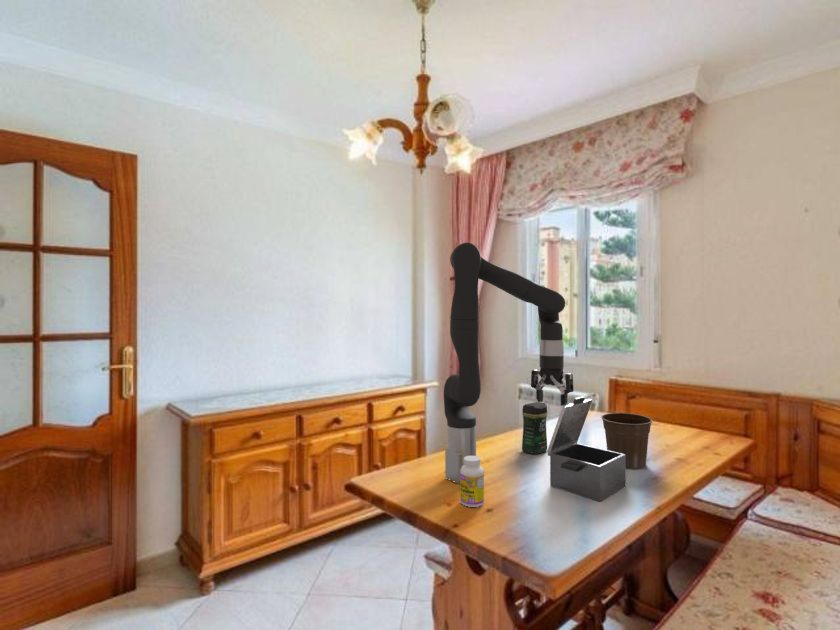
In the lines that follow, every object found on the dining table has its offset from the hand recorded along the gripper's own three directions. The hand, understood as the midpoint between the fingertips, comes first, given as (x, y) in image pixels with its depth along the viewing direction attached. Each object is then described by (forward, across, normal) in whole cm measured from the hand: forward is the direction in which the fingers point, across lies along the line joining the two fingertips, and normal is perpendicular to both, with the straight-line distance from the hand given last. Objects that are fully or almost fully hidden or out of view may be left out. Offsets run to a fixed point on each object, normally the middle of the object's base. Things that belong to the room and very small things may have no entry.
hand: (551, 403), depth 150 cm
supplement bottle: (+24, -4, -35) cm, 43 cm away
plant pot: (+24, +12, +29) cm, 39 cm away
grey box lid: (+6, +7, 0) cm, 9 cm away
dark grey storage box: (+24, +12, 0) cm, 27 cm away
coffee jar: (+24, -18, +18) cm, 35 cm away
